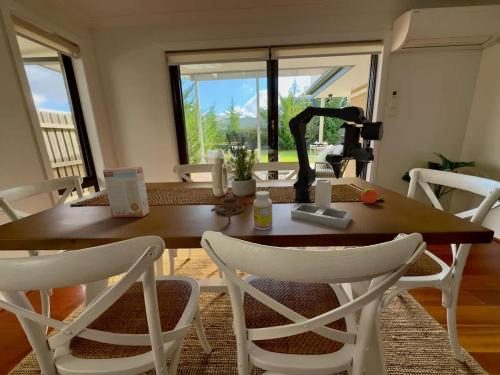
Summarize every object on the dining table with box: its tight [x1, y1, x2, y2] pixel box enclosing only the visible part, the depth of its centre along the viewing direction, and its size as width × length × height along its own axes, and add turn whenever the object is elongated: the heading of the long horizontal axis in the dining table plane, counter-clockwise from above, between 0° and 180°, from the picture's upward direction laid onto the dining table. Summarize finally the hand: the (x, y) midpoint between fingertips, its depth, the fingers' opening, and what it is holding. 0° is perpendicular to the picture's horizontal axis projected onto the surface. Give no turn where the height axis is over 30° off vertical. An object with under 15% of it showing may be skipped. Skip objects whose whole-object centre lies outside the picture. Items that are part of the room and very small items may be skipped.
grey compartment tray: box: [290, 202, 353, 230], centre depth 84 cm, size 20×10×3 cm, turn 55°
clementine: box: [360, 187, 379, 205], centre depth 98 cm, size 8×7×7 cm
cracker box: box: [102, 166, 150, 218], centre depth 93 cm, size 14×6×21 cm, turn 86°
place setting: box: [211, 198, 245, 225], centre depth 93 cm, size 18×20×6 cm
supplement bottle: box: [252, 190, 273, 231], centre depth 77 cm, size 7×7×13 cm
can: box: [314, 179, 333, 208], centre depth 94 cm, size 6×6×12 cm
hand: (347, 178), depth 90 cm, fingers open, 9 cm apart
